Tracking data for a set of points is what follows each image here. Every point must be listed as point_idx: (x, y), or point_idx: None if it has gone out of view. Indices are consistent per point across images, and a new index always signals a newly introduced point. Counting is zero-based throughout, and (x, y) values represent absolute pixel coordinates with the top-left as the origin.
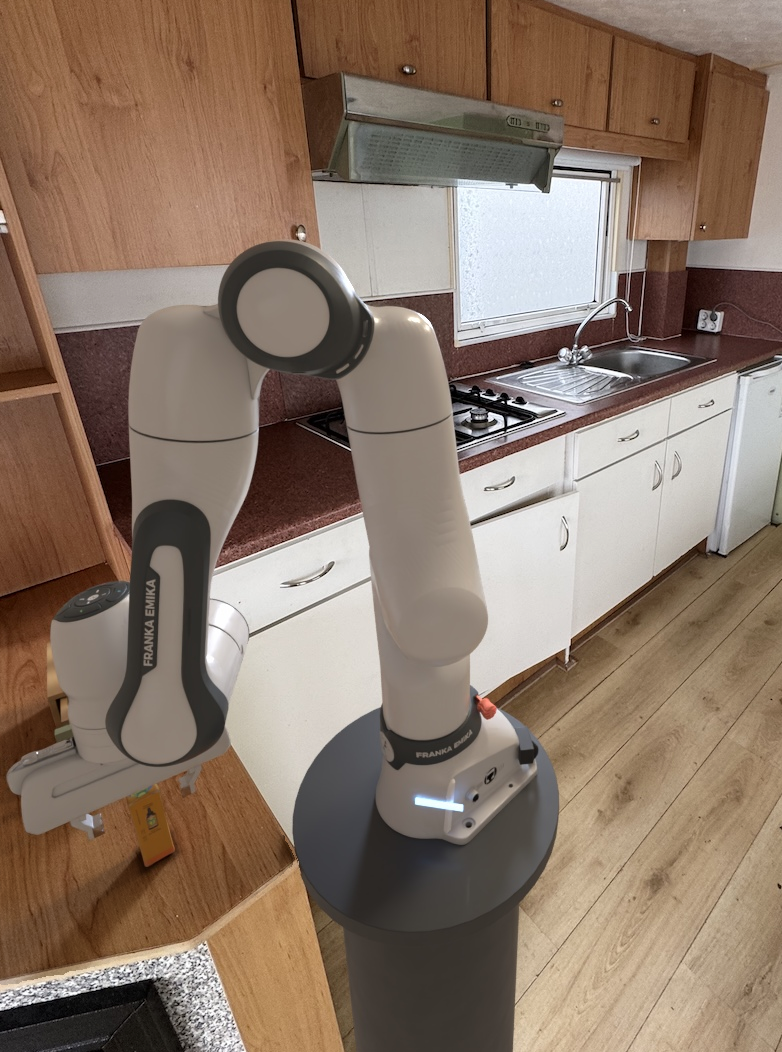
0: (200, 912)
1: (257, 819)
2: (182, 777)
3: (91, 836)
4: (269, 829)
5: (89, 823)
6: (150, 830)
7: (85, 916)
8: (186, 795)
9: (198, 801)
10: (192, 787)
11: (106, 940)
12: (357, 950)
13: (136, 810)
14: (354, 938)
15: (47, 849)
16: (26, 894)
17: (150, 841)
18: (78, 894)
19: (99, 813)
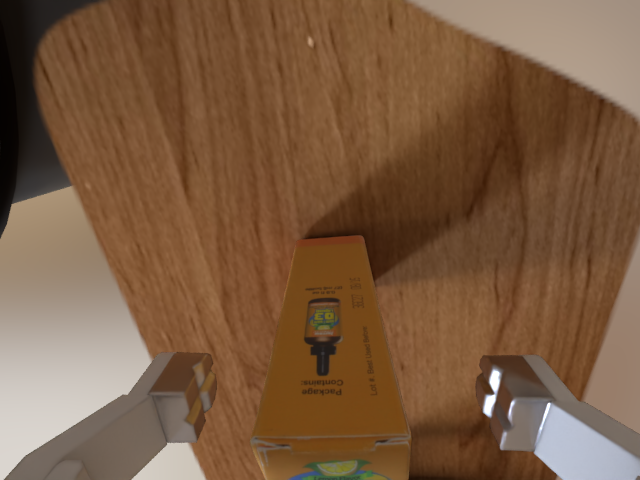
0: (252, 9)
1: (101, 216)
2: (179, 439)
3: (538, 367)
4: (68, 167)
5: (571, 432)
6: (335, 296)
7: (502, 187)
8: (191, 355)
9: (237, 338)
10: (150, 375)
11: (478, 84)
12: (97, 2)
13: (372, 390)
14: (83, 2)
15: None
16: (583, 313)
17: (342, 271)
18: (500, 253)
19: (506, 449)
